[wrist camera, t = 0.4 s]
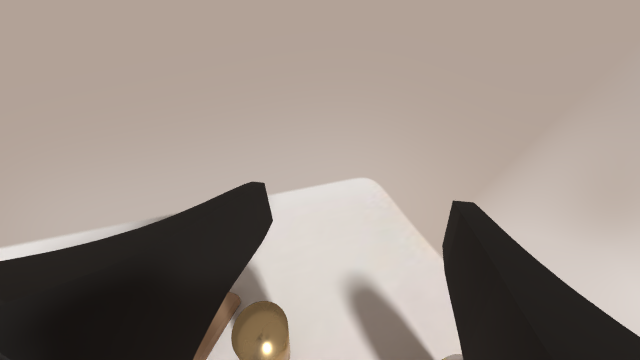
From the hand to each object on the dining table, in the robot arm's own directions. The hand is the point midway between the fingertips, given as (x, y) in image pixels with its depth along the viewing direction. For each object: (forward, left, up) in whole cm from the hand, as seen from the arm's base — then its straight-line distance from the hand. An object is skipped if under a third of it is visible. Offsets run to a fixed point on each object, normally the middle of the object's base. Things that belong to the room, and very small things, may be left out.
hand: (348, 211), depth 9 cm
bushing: (-2, +4, -20) cm, 20 cm away
